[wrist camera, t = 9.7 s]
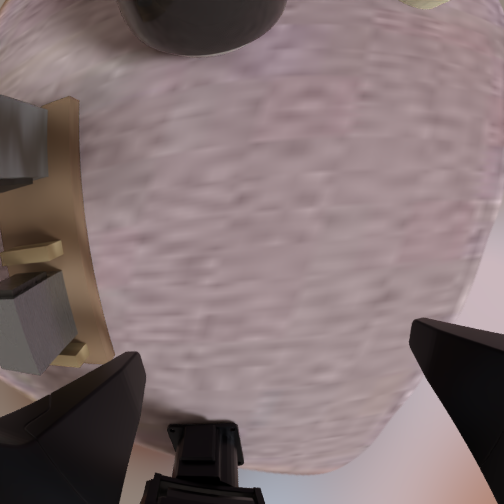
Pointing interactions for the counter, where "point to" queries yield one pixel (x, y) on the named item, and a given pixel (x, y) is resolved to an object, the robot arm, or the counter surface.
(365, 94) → the counter surface
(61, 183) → the rail
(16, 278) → the block
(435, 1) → the reusable coffee cup
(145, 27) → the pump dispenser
